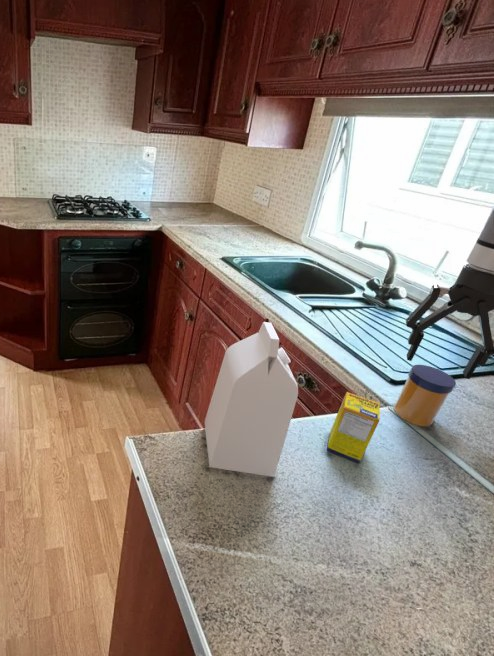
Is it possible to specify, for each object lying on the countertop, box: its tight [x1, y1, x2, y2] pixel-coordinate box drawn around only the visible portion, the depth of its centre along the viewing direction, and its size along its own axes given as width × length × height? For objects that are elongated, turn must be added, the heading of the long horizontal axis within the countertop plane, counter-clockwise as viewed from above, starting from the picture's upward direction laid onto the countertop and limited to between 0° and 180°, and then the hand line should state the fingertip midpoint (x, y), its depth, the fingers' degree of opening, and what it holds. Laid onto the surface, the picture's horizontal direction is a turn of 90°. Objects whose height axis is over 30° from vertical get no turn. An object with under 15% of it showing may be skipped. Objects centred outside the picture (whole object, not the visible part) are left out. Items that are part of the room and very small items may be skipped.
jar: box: [393, 376, 450, 427], centre depth 90 cm, size 8×8×10 cm
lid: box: [407, 364, 457, 395], centre depth 88 cm, size 8×8×2 cm
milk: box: [204, 321, 299, 478], centre depth 72 cm, size 12×12×26 cm
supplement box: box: [326, 391, 381, 464], centre depth 78 cm, size 6×6×11 cm
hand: (436, 366), depth 87 cm, fingers open, 10 cm apart
